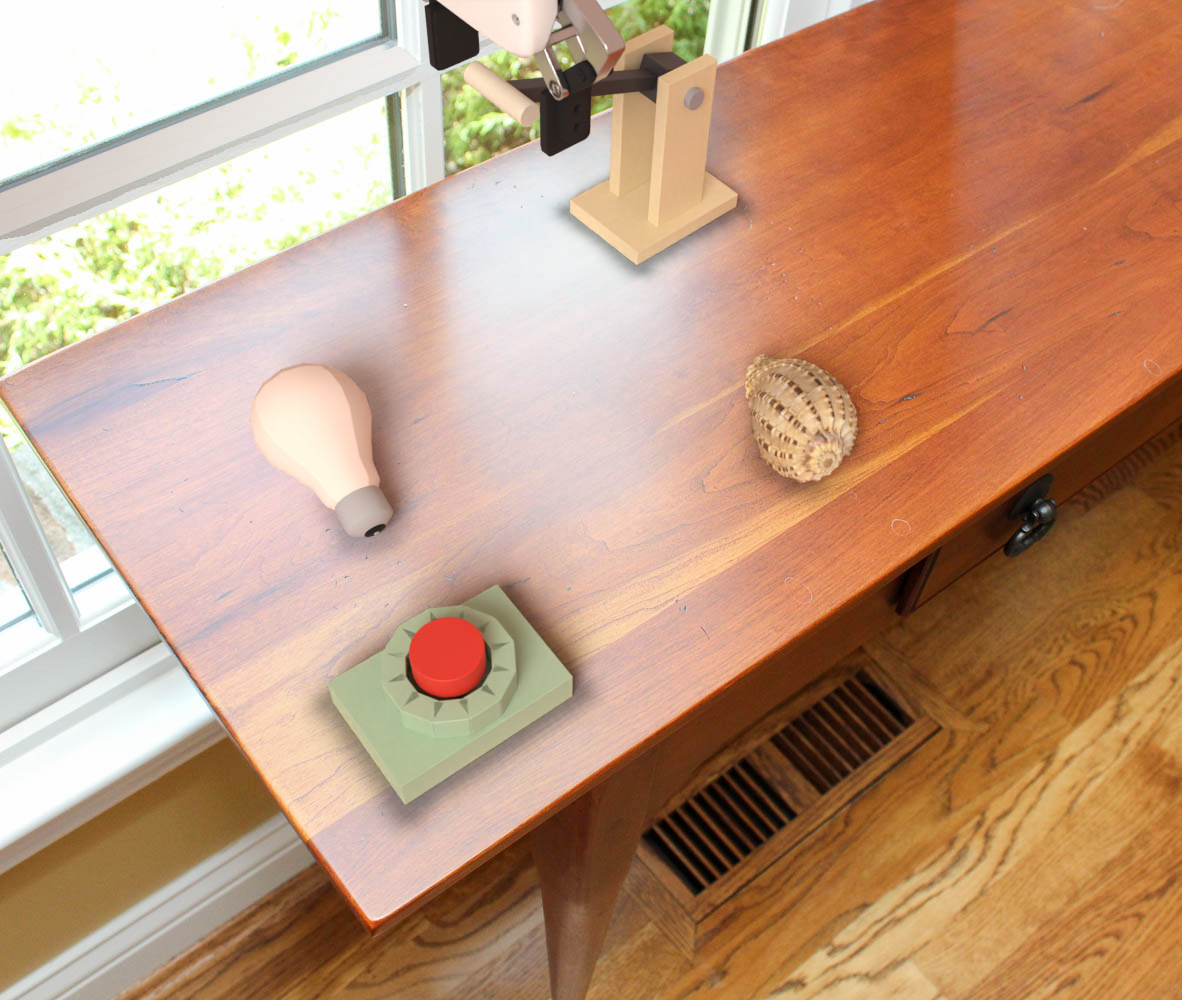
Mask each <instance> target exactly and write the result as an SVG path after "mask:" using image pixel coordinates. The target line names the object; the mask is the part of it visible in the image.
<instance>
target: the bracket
mask: <svg viewBox="0 0 1182 1000" xmlns="http://www.w3.org/2000/svg"><path fill="white" fill-rule="evenodd" d="M674 34H675V30H673V29H672V28H671V27H669V26H668V25H666V24H661V25H659V26H657V27H654V28H652V29H650V30H648V31H646V32H644V33H642V34H640V35H638V36H635V37H633V38H631V39H629V40H626V41H624V42H625V51H624V52H623V54H622V56H621V57H620V59H619V60H618V62H617V64H616V65H615V67H613V68H614V69H613V71H622V70H633V69H640V65H641V62H642V58H643V55H644V54H648V53H661V52H673V47H674V37H675V35H674ZM687 62H688V61H687ZM717 68H718V60H717V59H716V58H715V57H713V56H712V55H710V54H709V53H705V54H703V55H701V56H698V57H696V58H694V59H693V60H691V61H689V62H688V63H686V64H684V65H682V66H680V67H678V68H676V69H674V70H672V71H670V72H668V73H666V74H664V75H662V76H660V77H658V85H657V99H656V104H655V103H654V102H653V101H651V100H650V99H648V98H647V97H646V96H644V95H643V94H641V93H640V92H631V93H622V94H613V95H612V106H611V108H612V109H611V110H612V111H611V135H610V136H611V137H610V159H609V160H610V161H609V165H610V166H609V178H608V179H606V180H603V181H602V182H601V183H598V184H596V185H595V186H593V187H591V188H588V189H587V190H586V191H584V192H582V193H580V194H577V195H576V196H574V197H573V198H571V199H570V200H569V213H570V214H571V215H572V216H573V217H575V218H576V219H577V220H578V221H580V222H581V223H582V224H583V225H585V226H586V227H587V228H588V229H590V230H591V231H592V232H594V233H595V234H596V235H597V236H599V237H600V238H601V239H602V240H604V241H605V242H606V243H607V244H609V245H610V246H611V247H613V248H614V249H615V250H616V251H618V252H619V253H621V255H623V256H624V257H625V258H627V259H628V260H629V261H630V262H632V263H633V264H635V266H639V265H640V264H642V263H644V262H645V261H647V260H649V259H651V258H652V257H654V256H656V255H657V254H659V253H661V252H662V251H664V250H666V249H667V248H669V247H670V246H672V245H674V244H676V243H678V242H679V241H681V240H683V239H684V238H686V237H688V236H689V235H691V234H693V233H694V232H696V231H698V230H700V229H701V228H703V227H704V226H707V225H708V224H709V223H711V222H714V221H715V220H716V219H718V218H720V217H722V216H723V215H725V214H726V213H728V212H730V211H731V210H733V209H735V208H737V205H738V196H739V193H737V192H736V191H735V190H733V189H732V188H731V187H729V186H728V185H726V184H725V183H724V182H722V181H721V180H719V178H717V177H715V176H714V175H712V174H711V173H710V172H709V171H707V170H706V164H707V157H708V156H707V154H708V146H709V139H710V128H711V123H712V122H711V120H712V113H713V104H714V95H715V87H716V77H717V70H718V69H717Z"/></svg>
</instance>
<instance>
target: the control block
mask: <svg viewBox="0 0 1182 1000" xmlns="http://www.w3.org/2000/svg"><path fill="white" fill-rule="evenodd" d="M445 617H454V618H460V619H463V620H466V621H468V622H470V623H471V624H473V625H474V626H475V627H476V628H477V629H478V630H479V631H480V633H481V634H482V637H483V639H484V644H485V653H486V670H485V673H484V676H483V678H482V679H481V681H480V682H479V683H478V684H477V686H475V687H474V688H473V689H472V690H470V691H469V692H467V693H465V694H463V695H460V696H457V697H451V698H443V697H437V696H433V695H431V694H429V693H427V692H425V691H424V690H423V689H421V688H420V687H419V685H418V684H417V683H416V681H415V679H414V677H413V673H412V668H411V663H410V658H409V647H410V643H411V640H412V638H413V637H414V635H415V634H416V632H417V631H418V630H419V629H420V628H421V627H422V626H424V625H425V624H427V623H429V622H431V621H433V620H436V619H439V618H445ZM573 680H574V677H573V675H572V674H571V672H570V671H569V670H568V668H567V667H565V665H564V664H563V663H562V661H561V660H560V659H559V658H558V656H557V655H556V653H554V651H552V649H551V648H550V646H548V644H547V643H546V641H544V639H543V638H542V637H541V635H540V634H539V633H538V632H537V630H536V629H535V628H534V626H532V625H531V623H530V622H529V621H528V620H527V618H526V617H525V616H524V615H523V614H522V612H521V611H520V610H519V609H518V607H516V605H515V603H513V601H512V600H511V599H510V597H509V596H508V595H507V594H506V593H505V591H504V590H503V589H502V588H501V587H500V585H498V584H497V583H496V584H494V585H492V586H490V587H488V588H487V589H485V590H483V591H481V592H480V593H478V594H477V595H475V596H473V597H471V598H470V599H468V600H466V601H464V602H463V603H461V604H458V605H449V606H448V605H447V606H438V607H429V608H427V609H425V610H424V611H421V612H420V613H418V614H416V615H415V616H413V617H411V618H409V619H408V620H406V621H403V622H402V623H400V624H399V626H397V628H396V630H395V631H394V633H393V634H392V635H391V638H390V639H389V640H388V642H387V644H386V645H385V647H384V648H383V649H381V650H380V651H379V652H377V653H375V654H373V655H371V656H370V657H367V659H365V660H363V661H361V662H359V663H358V664H356V665H354V666H352V667H351V668H349V669H347V670H345V671H344V672H342V673H340V674H339V675H336V676H335V677H334V678H332V679H330V680H329V681H327V682H326V685H327V688H328V691H329V694H330V697H331V701H332V703H333V705H334V706H335V708H336V709H337V710H338V712H339V713H340V715H341V716H342V717H343V719H344V720H345V722H346V723H347V725H348V726H349V728H350V730H352V732H353V733H354V735H355V736H356V737H357V739H358V740H359V741H360V743H361V744H362V746H363V747H364V749H365V750H366V751H367V753H368V755H369V756H370V757H371V759H372V761H373V762H374V763H375V765H376V766H377V767H378V769H379V770H380V772H381V773H382V774H383V776H384V778H385V779H386V780H387V782H388V783H389V784H390V786H391V787H392V789H393V791H394V792H395V793H396V794H397V796H398V797H399V799H400V800H401V802H402V803H403V805H405V806H406V805H408V804H409V803H411V802H412V801H414V800H416V799H417V798H418V797H420V796H422V795H423V794H425V793H426V792H428V791H429V790H431V789H432V788H434V787H436V786H437V785H439V784H440V783H442V782H443V781H445V780H446V779H448V778H449V777H451V776H452V775H454V774H455V773H457V772H458V771H460V770H462V769H463V768H464V767H466V766H467V765H469V764H470V763H472V762H473V761H475V760H477V759H479V758H480V757H481V756H483V755H485V754H487V753H488V752H489V751H491V750H492V749H494V748H495V747H497V746H498V745H500V744H501V743H503V742H504V741H506V740H507V739H509V738H511V737H512V736H513V735H516V734H517V733H519V732H520V731H522V730H523V729H525V728H527V726H529V725H531V724H532V723H534V722H535V721H537V720H538V719H540V718H541V717H543V716H544V715H545V714H547V713H549V712H551V711H552V710H554V709H555V708H556V707H558V706H559V705H562V704H563V703H564V702H566V701H567V700H569V699H570V698H572V697H573V689H574V687H573V686H574V685H573V684H574V683H573Z"/></svg>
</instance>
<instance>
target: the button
mask: <svg viewBox="0 0 1182 1000" xmlns="http://www.w3.org/2000/svg"><path fill="white" fill-rule="evenodd" d="M409 658H410V663H411V668H412V673H413V677H414V679H415V681H416V683H417V684H418V685H419V687H420V688H421V689H423V690H424V691H425V692H427V693H429V694H431V695H433V696H437V697H443V698H451V697H457V696H460V695H463V694H465V693H467V692H469V691H470V690H472V689H473V688H474V687H475V686H477V684H478V683H479V682H480V681H481V679H482V678H483V676H484V673H485V670H486V653H485V644H484V639H483V637H482V634H481V633H480V631H479V630H478V629H477V628H476V627H475V626H474V625H473V624H471V623H470V622H468V621H466V620H463V619H460V618H454V617H445V618H439V619H436V620H433V621H431V622H429V623H427V624H425V625H424V626H422V627H421V628H420V629H419V630H418V631H417V632H416V634H415V635H414V637H413V638H412V640H411V643H410V647H409Z"/></svg>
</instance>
